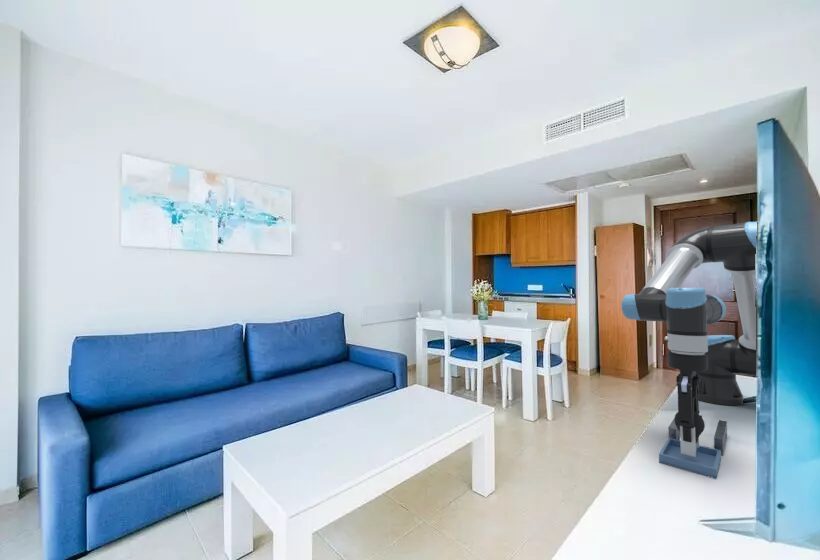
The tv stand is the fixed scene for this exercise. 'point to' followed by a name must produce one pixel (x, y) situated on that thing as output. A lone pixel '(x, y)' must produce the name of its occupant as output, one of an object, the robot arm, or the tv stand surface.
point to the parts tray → (691, 458)
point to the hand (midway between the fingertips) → (690, 449)
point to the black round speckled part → (698, 425)
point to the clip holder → (718, 438)
